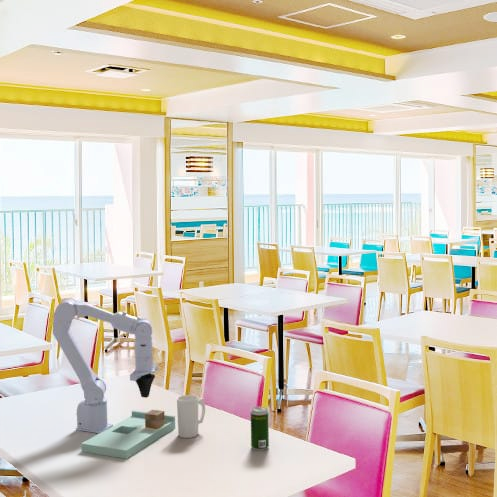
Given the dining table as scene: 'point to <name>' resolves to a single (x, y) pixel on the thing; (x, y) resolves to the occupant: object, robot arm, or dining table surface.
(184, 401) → the mug
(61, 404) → the dining table surface
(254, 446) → the beer can
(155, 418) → the walnut block
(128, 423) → the board
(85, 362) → the robot arm
